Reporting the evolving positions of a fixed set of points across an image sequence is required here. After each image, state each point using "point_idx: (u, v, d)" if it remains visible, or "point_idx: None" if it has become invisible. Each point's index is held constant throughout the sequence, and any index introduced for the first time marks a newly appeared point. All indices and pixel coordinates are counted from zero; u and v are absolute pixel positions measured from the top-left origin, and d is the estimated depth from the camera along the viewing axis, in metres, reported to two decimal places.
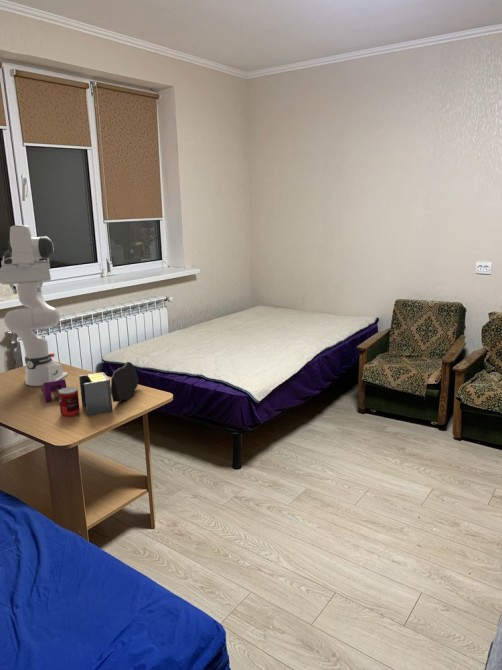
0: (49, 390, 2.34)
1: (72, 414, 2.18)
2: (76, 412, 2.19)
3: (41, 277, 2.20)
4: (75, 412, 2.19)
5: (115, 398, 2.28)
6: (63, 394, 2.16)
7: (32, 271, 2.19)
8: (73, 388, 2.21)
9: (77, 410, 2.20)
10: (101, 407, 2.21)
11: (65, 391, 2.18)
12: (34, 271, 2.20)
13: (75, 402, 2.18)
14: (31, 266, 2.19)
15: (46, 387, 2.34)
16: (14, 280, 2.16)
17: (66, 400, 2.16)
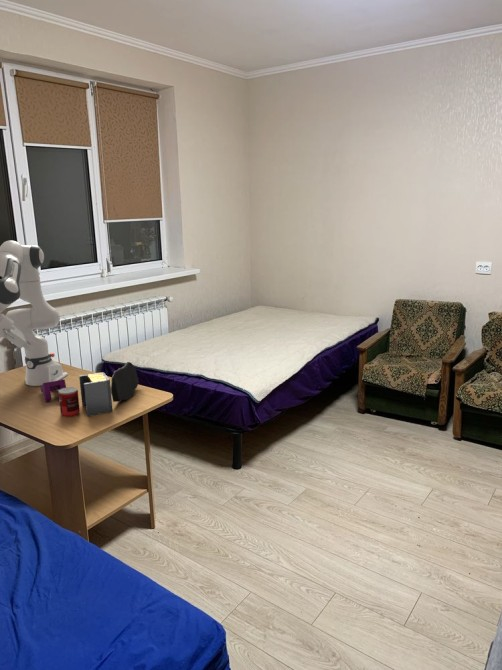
0: (49, 390, 2.34)
1: (72, 414, 2.18)
2: (76, 412, 2.19)
3: None
4: (75, 412, 2.19)
5: (115, 398, 2.28)
6: (63, 394, 2.16)
7: None
8: (73, 388, 2.21)
9: (77, 410, 2.20)
10: (101, 407, 2.21)
11: (65, 391, 2.18)
12: None
13: (75, 402, 2.18)
14: (6, 336, 2.06)
15: (46, 387, 2.34)
16: None
17: (66, 400, 2.16)
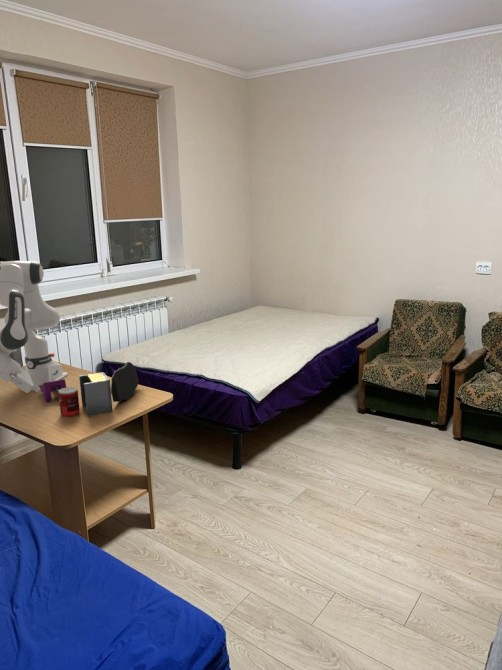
0: (49, 390, 2.34)
1: (72, 414, 2.18)
2: (76, 412, 2.19)
3: None
4: (75, 412, 2.19)
5: (115, 398, 2.28)
6: (63, 394, 2.16)
7: None
8: (73, 388, 2.21)
9: (77, 410, 2.20)
10: (101, 407, 2.21)
11: (65, 391, 2.18)
12: None
13: (75, 402, 2.18)
14: None
15: (46, 387, 2.34)
16: None
17: (66, 400, 2.16)
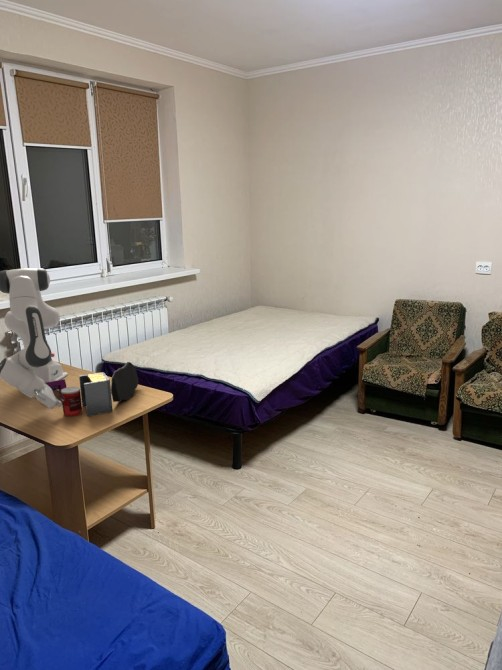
0: None
1: (75, 414, 2.19)
2: (79, 412, 2.20)
3: None
4: (77, 412, 2.19)
5: (115, 398, 2.28)
6: (66, 394, 2.16)
7: None
8: (75, 388, 2.22)
9: (80, 410, 2.20)
10: (101, 407, 2.21)
11: (68, 391, 2.19)
12: None
13: (77, 402, 2.19)
14: None
15: None
16: None
17: (69, 400, 2.16)
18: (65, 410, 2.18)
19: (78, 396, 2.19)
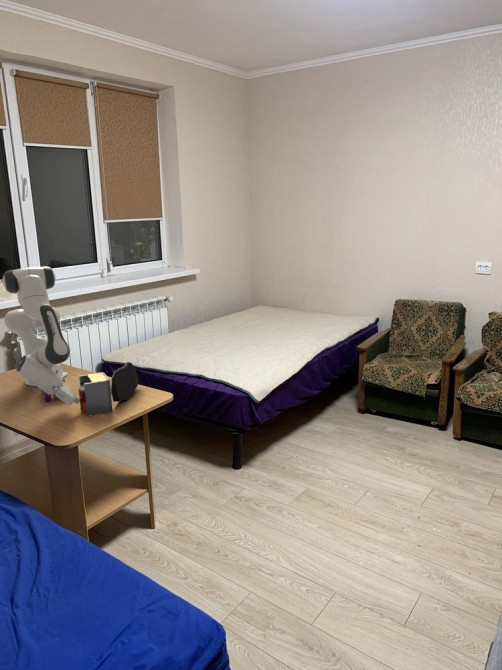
0: None
1: None
2: None
3: None
4: None
5: (115, 398, 2.28)
6: (83, 391, 2.19)
7: None
8: None
9: None
10: (101, 407, 2.21)
11: None
12: None
13: None
14: None
15: None
16: None
17: None
18: (83, 407, 2.21)
19: None
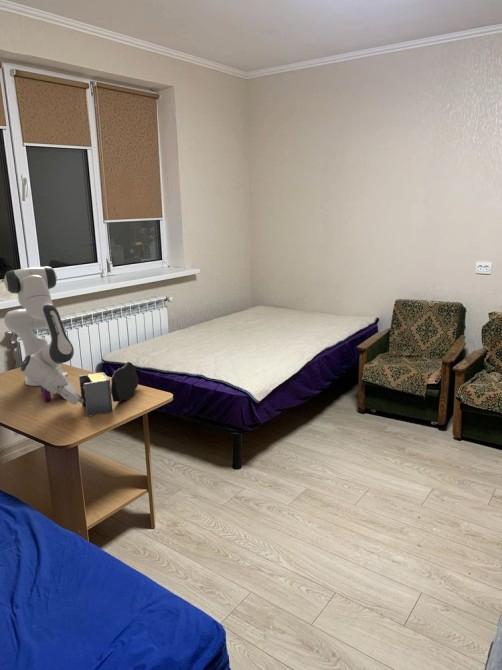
0: None
1: None
2: None
3: None
4: None
5: (115, 398, 2.28)
6: None
7: None
8: None
9: None
10: (101, 407, 2.21)
11: None
12: None
13: None
14: (60, 392, 2.15)
15: None
16: None
17: None
18: None
19: None
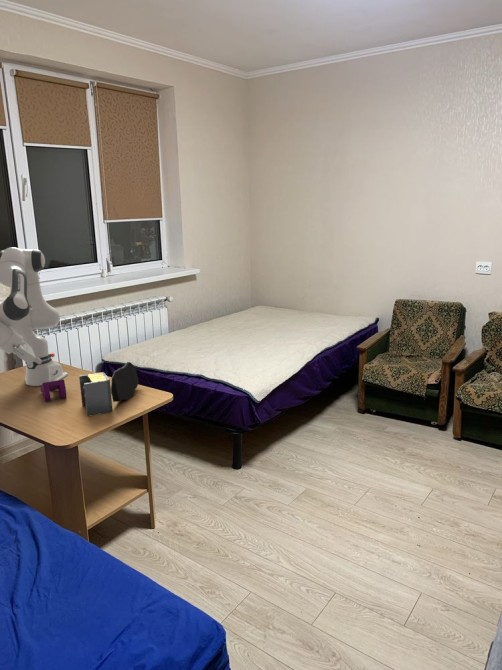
0: (48, 390, 2.34)
1: None
2: None
3: None
4: None
5: (115, 398, 2.28)
6: None
7: None
8: None
9: None
10: (101, 407, 2.21)
11: None
12: None
13: None
14: (15, 352, 2.06)
15: (45, 387, 2.34)
16: None
17: None
18: None
19: None
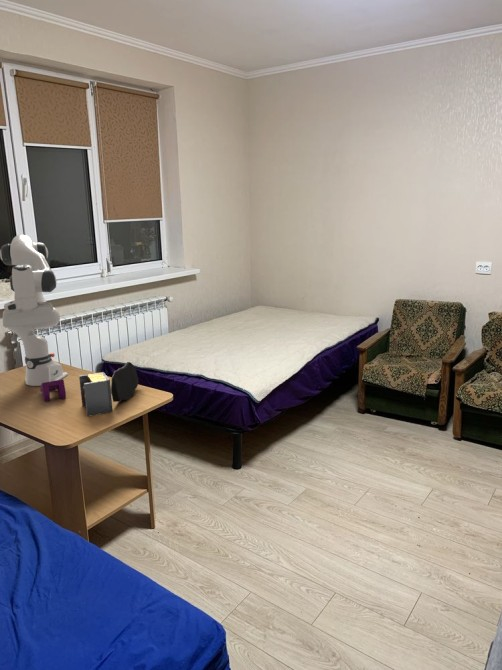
0: (47, 390, 2.34)
1: None
2: None
3: (45, 320, 2.19)
4: None
5: (115, 398, 2.28)
6: None
7: (35, 315, 2.17)
8: None
9: None
10: (101, 407, 2.21)
11: None
12: (38, 314, 2.18)
13: None
14: (35, 310, 2.17)
15: (44, 387, 2.34)
16: (18, 324, 2.15)
17: None
18: None
19: None
